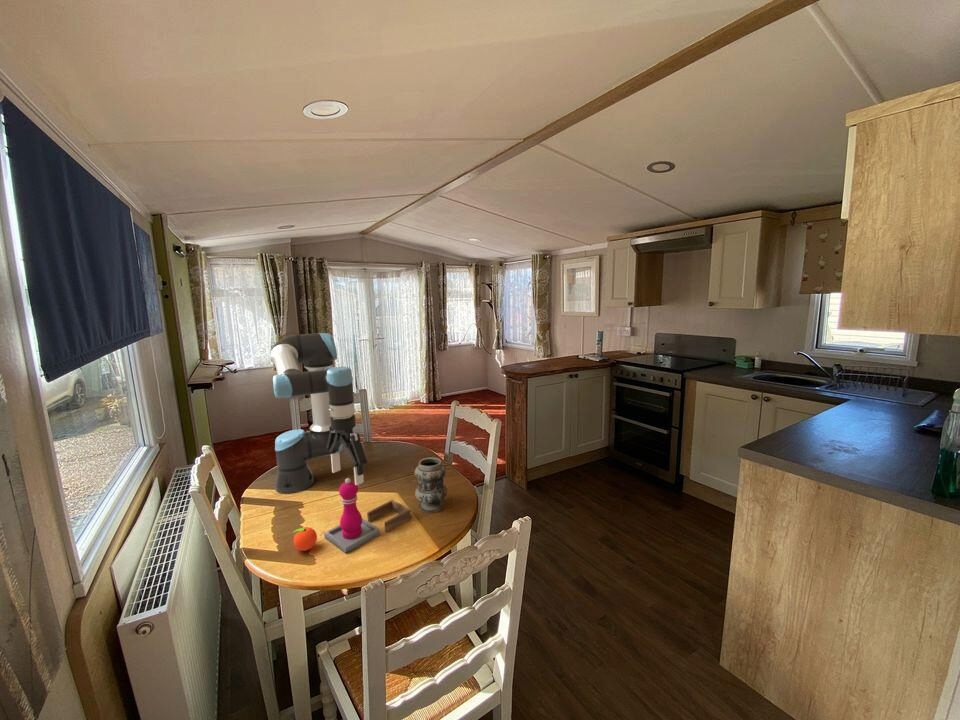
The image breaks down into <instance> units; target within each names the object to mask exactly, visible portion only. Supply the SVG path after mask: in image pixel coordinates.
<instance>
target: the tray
mask: <svg viewBox="0 0 960 720" xmlns="http://www.w3.org/2000/svg"><path fill="white" fill-rule="evenodd" d="M362 520H363V521H362V524H361V527H362V533H361V535H360V536H358V537H356V538H354V539H345V538H344V537H343V535H342V530H343V529H342V528H341V527H340V524H339V525H337V526H334V527H333V528H331V529H328V530H327V531H324V532H323V535H324V539H325V540H326V541H328V542H329V543H331V544H332V545H333V546H335V547H336V548H337V549H339V550H340V551H341V552H343V553H345V554H348V553H350V552H352V551H354V550H356V548H359V547H361V546H362V545H364V544H365V543H367V542H369V541H371V540H373V539H374V538H377V537H378V536H380V535H381V529H380V528H379V527H378V526H375V525H374V524H372V523H371V522H368V520H366V519H365V518H363V517H362Z"/></svg>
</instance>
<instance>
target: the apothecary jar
mask: <svg viewBox="0 0 960 720" xmlns="http://www.w3.org/2000/svg"><path fill="white" fill-rule="evenodd" d="M446 474H447V469H446V466H445V465H444V464H443V463H442V460H441V459H440V458H438V457H426V458H422V459H420V460H419V462H418V466H416V468H415V469H414V476H415V478H416V479H418V481H417V482H418V485H417V488H416V489H415V497H416V499H417V500H418V501H419V502H420V503H419V506H418V508H419V510H420V511H422V512H423V513H428V514H429V513H430V514H432V513H437V512H440V511H441V510H443V509H444V508H445V506H446V503H445V501H444V499H445V498H446V497H447V495H448V489H447V486H446V485H445V483H444V476H446Z"/></svg>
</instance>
